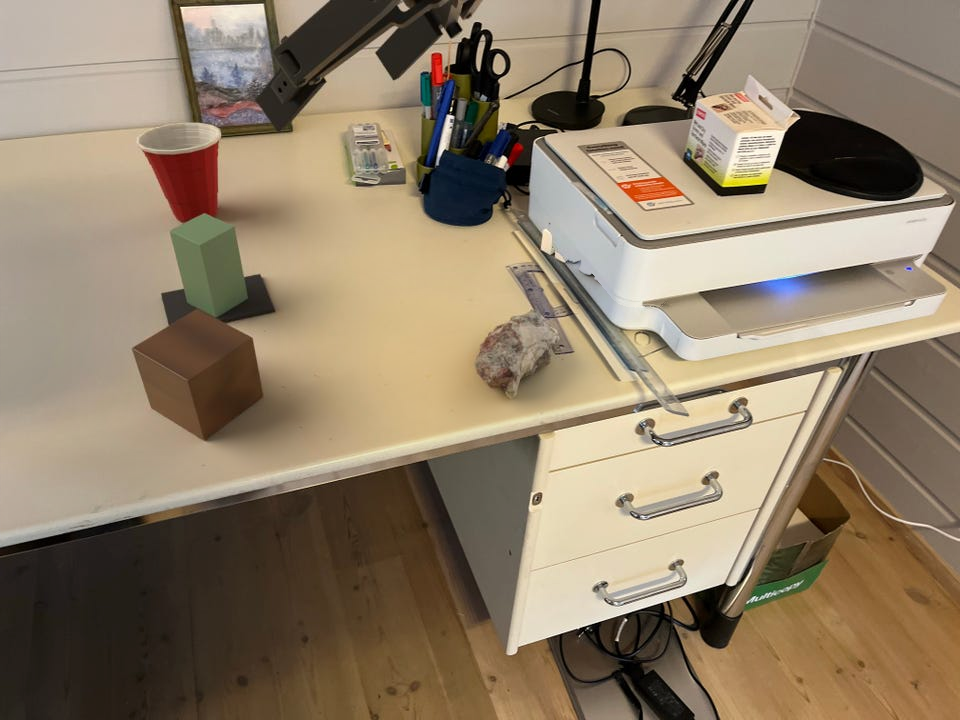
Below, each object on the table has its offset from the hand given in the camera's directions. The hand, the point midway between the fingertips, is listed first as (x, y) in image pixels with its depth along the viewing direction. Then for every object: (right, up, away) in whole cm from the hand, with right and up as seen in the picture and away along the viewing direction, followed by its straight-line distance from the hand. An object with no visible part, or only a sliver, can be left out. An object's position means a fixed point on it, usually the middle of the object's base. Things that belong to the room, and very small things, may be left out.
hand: (332, 88), depth 60 cm
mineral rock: (+16, -22, +26) cm, 38 cm away
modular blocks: (+28, -9, +42) cm, 52 cm away
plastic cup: (-29, -1, +48) cm, 56 cm away
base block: (-17, -26, +19) cm, 36 cm away
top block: (-20, -14, +31) cm, 40 cm away
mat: (-20, -15, +32) cm, 40 cm away
